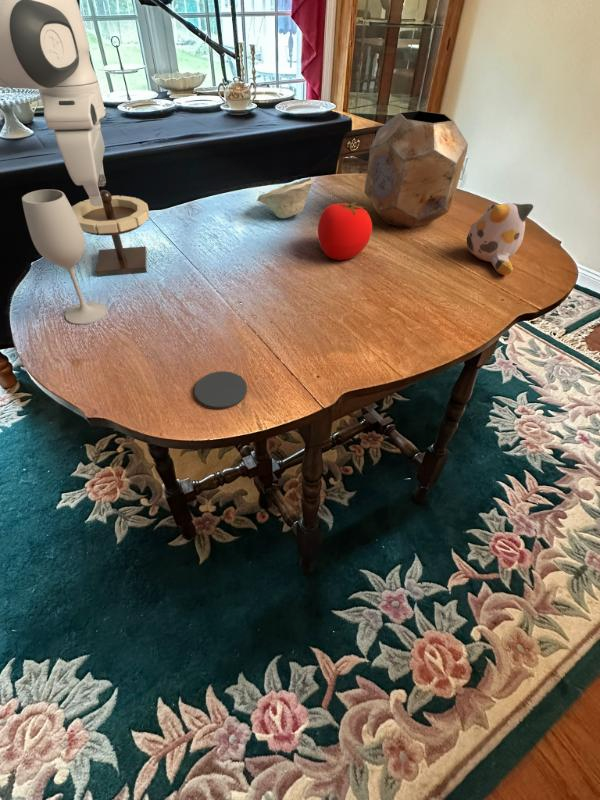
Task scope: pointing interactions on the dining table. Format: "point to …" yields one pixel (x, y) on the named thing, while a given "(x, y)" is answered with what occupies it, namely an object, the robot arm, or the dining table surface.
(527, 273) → the dining table surface
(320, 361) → the dining table surface
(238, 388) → the coaster
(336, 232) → the tomato
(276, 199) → the bowl
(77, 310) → the wineglass
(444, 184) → the planter
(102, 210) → the rack
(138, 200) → the hoop
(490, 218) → the figurine
